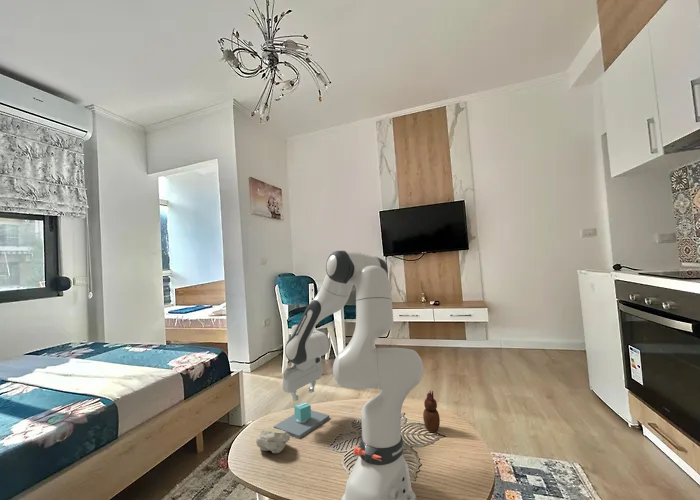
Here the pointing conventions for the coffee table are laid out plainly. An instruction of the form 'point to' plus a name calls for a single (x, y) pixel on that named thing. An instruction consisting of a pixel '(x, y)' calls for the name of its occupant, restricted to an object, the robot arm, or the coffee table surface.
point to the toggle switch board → (302, 424)
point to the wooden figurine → (431, 414)
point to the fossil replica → (272, 440)
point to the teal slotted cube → (302, 411)
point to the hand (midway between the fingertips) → (303, 396)
